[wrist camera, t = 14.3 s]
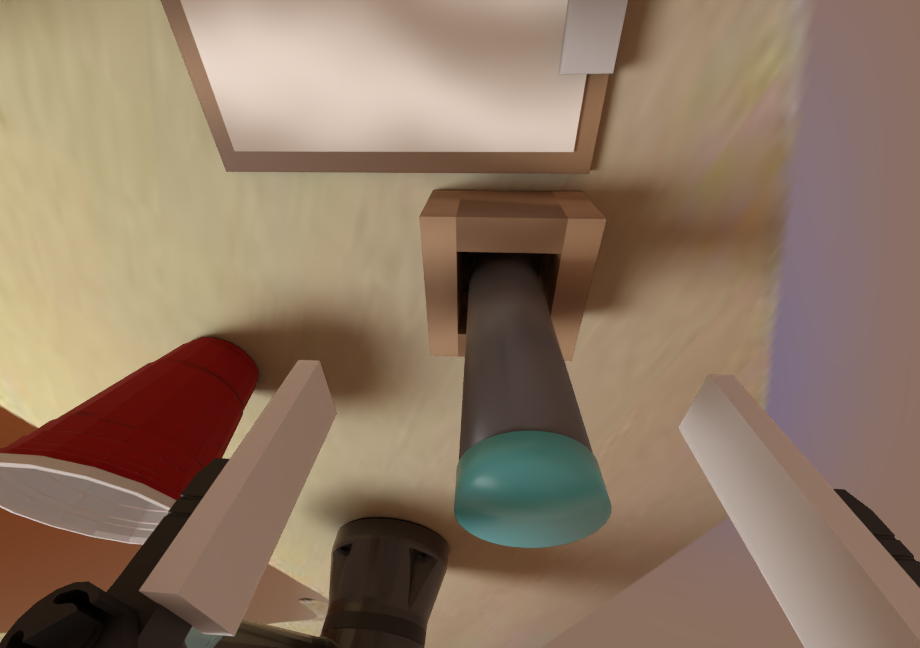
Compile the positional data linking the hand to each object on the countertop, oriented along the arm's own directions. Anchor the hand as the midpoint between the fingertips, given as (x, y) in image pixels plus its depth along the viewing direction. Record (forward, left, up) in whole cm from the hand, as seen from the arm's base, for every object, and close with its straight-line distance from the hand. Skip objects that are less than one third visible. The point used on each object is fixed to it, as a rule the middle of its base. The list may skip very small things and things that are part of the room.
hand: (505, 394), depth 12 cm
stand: (0, 0, -11) cm, 11 cm away
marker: (0, 0, -11) cm, 11 cm away
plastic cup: (-10, +22, -11) cm, 26 cm away
